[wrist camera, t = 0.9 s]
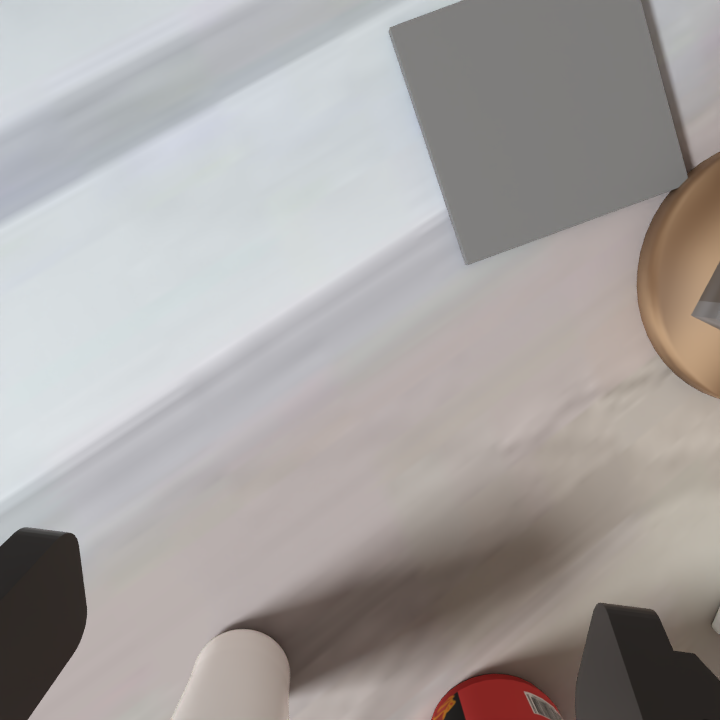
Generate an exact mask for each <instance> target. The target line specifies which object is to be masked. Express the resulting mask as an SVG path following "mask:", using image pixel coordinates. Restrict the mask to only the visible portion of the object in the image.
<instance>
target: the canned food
mask: <svg viewBox="0 0 720 720" xmlns="http://www.w3.org/2000/svg"><path fill="white" fill-rule="evenodd" d="M431 720H563V718H562V717H561V715H560V713H559V711H558V709H557V707H556V706H555V704H554V703H553V702H552V701H551V700H550V699H549V698H548V697H547V696H546V695H545V694H544V693H543V692H542V691H541V690H539V689H538V688H537V687H535V686H534V685H533V684H531V683H530V682H528V681H526V680H523V679H521V678H519V677H515V676H511V675H506V674H487V675H481V676H477V677H473V678H470V679H468V680H466V681H464V682H462V683H460V684H458V685H457V686H455V687H454V688H453V689H451V690H450V691H449V692H448V693H447V694H446V695H445V696H444V697H443V698H442V699H441V701H440V702H439V704H438V705H437V707H436V709H435V711H434V714H433V716H432V719H431Z"/></svg>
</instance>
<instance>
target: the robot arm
mask: <svg viewBox="0 0 720 720" xmlns="http://www.w3.org/2000/svg"><path fill="white" fill-rule="evenodd" d="M86 619H87V605H86V597H85V589H84V582H83V574H82V566H81V558H80V551H79V544H78V540H77V538H76V537H75V535H74V534H72V533H67V532H60V531H52V530H44V529H36V528H28V527H25V528H21V529H19V530H18V531H16V532H15V533H14V534H13V535H12V536H11V537H10V538H9V539H8V540H7V541H6V542H5V543H3V544H2V545H1V546H0V720H28V718H29V717H30V715H31V714H32V713H33V711H34V710H35V708H36V707H37V705H38V704H39V703H40V701H41V700H42V698H43V697H44V695H45V694H46V692H47V691H48V690H49V688H50V687H51V685H52V684H53V682H54V681H55V680H56V678H57V677H58V675H59V674H60V672H61V671H62V669H63V668H64V667H65V665H66V664H67V662H68V661H69V659H70V658H71V657H72V655H73V654H74V652H75V650H76V649H77V647H78V645H79V643H80V641H81V638H82V635H83V632H84V629H85V625H86ZM575 710H576V720H720V681H719V679H718V678H717V677H716V676H715V675H714V674H713V673H712V672H711V671H710V670H709V669H708V668H707V667H706V666H705V664H704V663H703V662H702V661H701V660H700V659H699V658H698V657H697V656H696V655H695V654H693V653H685V652H678V651H673V649H672V646H671V644H670V642H669V639H668V637H667V635H666V632H665V630H664V628H663V626H662V623H661V621H660V619H659V617H658V615H657V614H656V612H655V611H654V610H651V609H645V608H637V607H629V606H622V605H614V604H606V603H598V604H597V605H596V606H595V609H594V611H593V615H592V619H591V623H590V627H589V631H588V635H587V640H586V644H585V648H584V652H583V656H582V661H581V665H580V669H579V673H578V677H577V683H576V693H575Z"/></svg>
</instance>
